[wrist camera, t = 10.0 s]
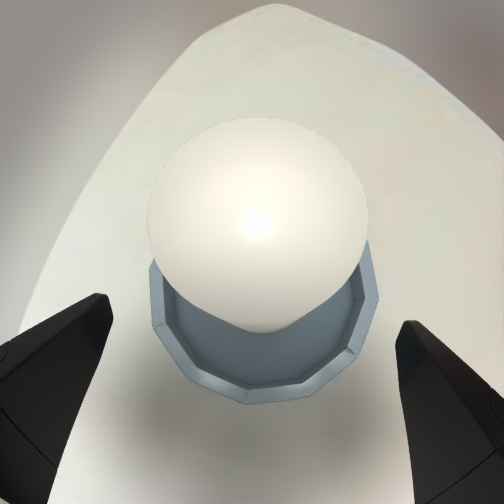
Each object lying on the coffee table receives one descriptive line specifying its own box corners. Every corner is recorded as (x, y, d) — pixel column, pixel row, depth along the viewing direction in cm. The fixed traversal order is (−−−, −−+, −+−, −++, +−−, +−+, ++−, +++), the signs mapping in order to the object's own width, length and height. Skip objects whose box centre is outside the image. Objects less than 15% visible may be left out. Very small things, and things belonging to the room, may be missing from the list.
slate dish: (315, 420, 18) (324, 433, 15) (137, 341, 20) (116, 340, 17) (382, 243, 21) (399, 227, 18) (216, 178, 23) (209, 154, 20)
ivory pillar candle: (285, 347, 19) (322, 360, 6) (208, 314, 19) (110, 265, 7) (315, 271, 20) (389, 159, 7) (242, 242, 20) (207, 98, 8)
